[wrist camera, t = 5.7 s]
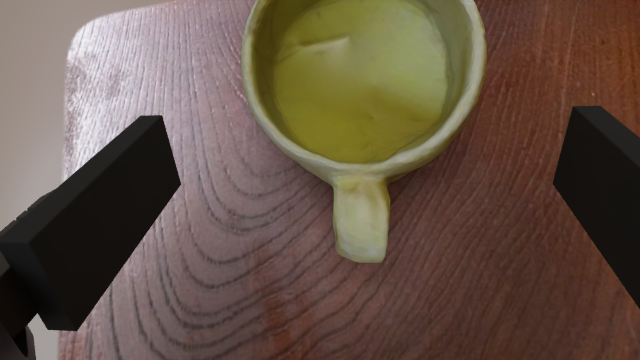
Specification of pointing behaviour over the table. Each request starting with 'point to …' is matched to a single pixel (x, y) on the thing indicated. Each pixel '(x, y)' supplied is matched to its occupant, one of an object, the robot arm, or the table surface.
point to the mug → (363, 95)
